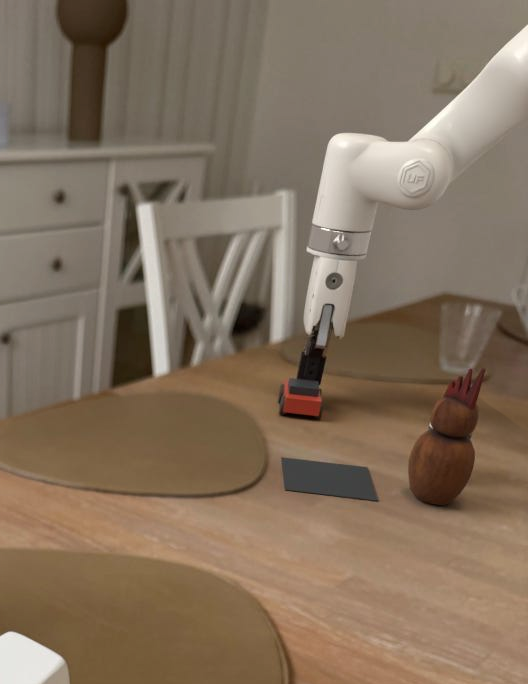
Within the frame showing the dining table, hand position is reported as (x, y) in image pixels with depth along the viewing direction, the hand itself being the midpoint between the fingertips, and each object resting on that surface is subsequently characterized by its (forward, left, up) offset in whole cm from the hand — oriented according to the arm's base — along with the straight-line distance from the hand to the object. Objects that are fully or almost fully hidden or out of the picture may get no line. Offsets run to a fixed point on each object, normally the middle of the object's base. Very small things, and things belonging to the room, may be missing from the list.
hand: (307, 382), depth 135 cm
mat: (-1, +29, -2) cm, 29 cm away
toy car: (-2, +5, 0) cm, 5 cm away
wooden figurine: (-12, +32, -3) cm, 34 cm away
